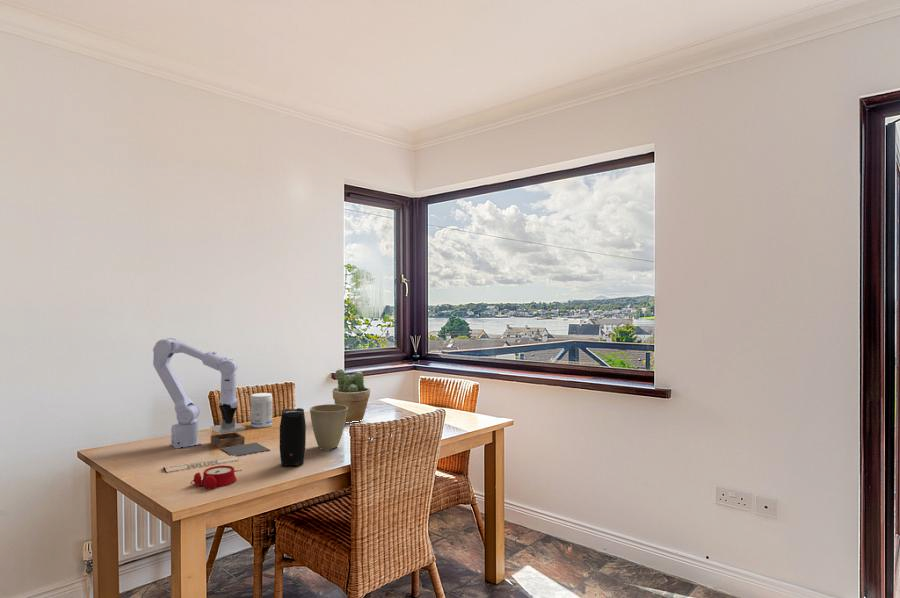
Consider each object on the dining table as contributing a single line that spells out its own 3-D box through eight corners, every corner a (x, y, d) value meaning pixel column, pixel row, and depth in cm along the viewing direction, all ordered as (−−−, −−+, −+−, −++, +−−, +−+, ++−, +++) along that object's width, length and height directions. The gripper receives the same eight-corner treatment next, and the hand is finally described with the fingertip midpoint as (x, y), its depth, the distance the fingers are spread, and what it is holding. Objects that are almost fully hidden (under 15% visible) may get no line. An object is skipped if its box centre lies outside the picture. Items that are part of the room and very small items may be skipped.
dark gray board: (233, 457, 202) (233, 456, 202) (220, 449, 213) (220, 448, 213) (269, 450, 212) (269, 449, 212) (256, 443, 222) (256, 442, 222)
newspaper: (233, 459, 203) (233, 454, 203) (239, 463, 197) (239, 458, 197) (163, 470, 188) (163, 465, 188) (167, 475, 182) (167, 470, 182)
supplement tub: (267, 422, 260) (268, 392, 260) (275, 426, 253) (275, 394, 253) (247, 425, 254) (247, 394, 254) (254, 429, 246) (255, 396, 246)
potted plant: (371, 416, 275) (372, 367, 275) (368, 425, 257) (368, 372, 257) (335, 416, 274) (335, 367, 274) (329, 425, 256) (329, 372, 256)
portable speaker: (298, 469, 189) (298, 413, 189) (274, 466, 191) (274, 411, 191) (310, 461, 198) (310, 408, 198) (286, 459, 200) (287, 406, 200)
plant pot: (304, 452, 210) (305, 411, 210) (315, 442, 225) (315, 403, 225) (342, 453, 210) (343, 411, 210) (350, 443, 224) (351, 404, 225)
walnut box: (219, 448, 214) (219, 440, 214) (210, 443, 222) (211, 435, 222) (244, 443, 221) (244, 436, 221) (235, 439, 229) (235, 432, 229)
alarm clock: (246, 468, 178) (207, 470, 165) (242, 488, 177) (203, 491, 164) (224, 463, 183) (185, 464, 170) (221, 482, 182) (181, 485, 169)
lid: (218, 435, 214) (219, 423, 214) (210, 430, 222) (210, 419, 222) (245, 431, 221) (245, 419, 221) (236, 426, 229) (236, 415, 229)
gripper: (244, 391, 219) (244, 424, 219) (231, 386, 230) (231, 418, 230) (226, 392, 214) (226, 427, 214) (214, 388, 225) (214, 420, 225)
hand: (227, 422), depth 222 cm, fingers closed on lid
